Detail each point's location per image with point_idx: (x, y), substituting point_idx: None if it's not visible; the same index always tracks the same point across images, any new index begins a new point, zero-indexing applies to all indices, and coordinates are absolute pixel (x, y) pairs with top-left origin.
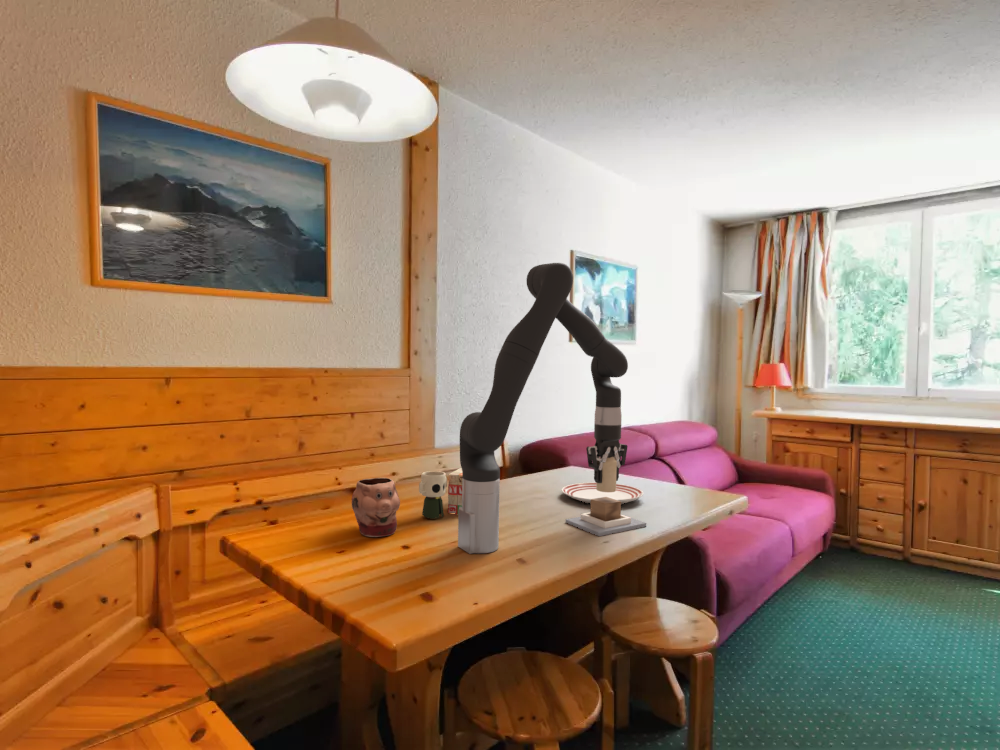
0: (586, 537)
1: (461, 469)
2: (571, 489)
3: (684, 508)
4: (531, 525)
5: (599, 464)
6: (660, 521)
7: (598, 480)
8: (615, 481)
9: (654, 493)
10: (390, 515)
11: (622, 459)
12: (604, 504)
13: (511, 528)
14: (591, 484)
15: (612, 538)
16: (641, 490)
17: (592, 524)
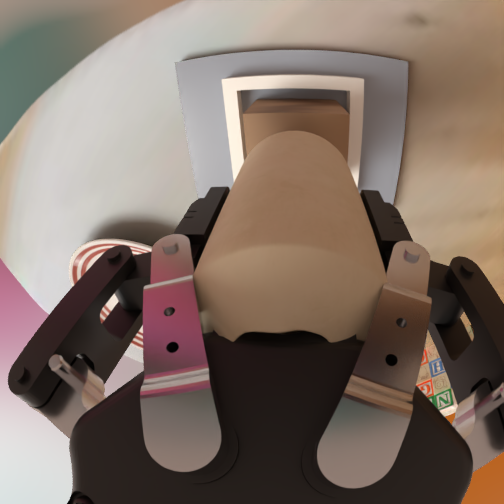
0: (438, 81)
1: (450, 412)
2: None
3: (27, 175)
4: (461, 236)
5: (426, 283)
6: (110, 95)
7: (386, 205)
8: (265, 153)
9: (51, 272)
10: None
11: (107, 284)
12: (349, 119)
13: (496, 241)
14: None
15: (378, 24)
16: (69, 274)
17: (365, 130)
